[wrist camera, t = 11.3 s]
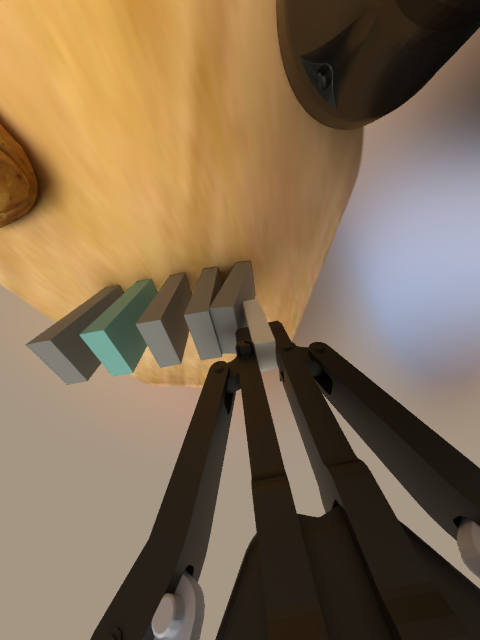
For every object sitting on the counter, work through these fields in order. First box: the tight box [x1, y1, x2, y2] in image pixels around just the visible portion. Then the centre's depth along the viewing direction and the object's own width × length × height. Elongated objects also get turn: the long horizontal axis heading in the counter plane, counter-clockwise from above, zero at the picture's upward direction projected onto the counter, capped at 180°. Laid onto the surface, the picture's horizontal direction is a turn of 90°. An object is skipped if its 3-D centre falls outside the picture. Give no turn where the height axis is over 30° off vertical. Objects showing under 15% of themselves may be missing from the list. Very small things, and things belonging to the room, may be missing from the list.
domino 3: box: [209, 261, 255, 353], centre depth 21 cm, size 2×5×12 cm, turn 9°
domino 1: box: [136, 273, 192, 368], centre depth 21 cm, size 2×5×12 cm, turn 9°
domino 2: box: [184, 267, 222, 360], centre depth 21 cm, size 2×5×12 cm, turn 9°
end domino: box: [26, 285, 124, 385], centre depth 21 cm, size 2×5×12 cm, turn 9°
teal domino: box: [79, 279, 158, 376], centre depth 21 cm, size 2×5×12 cm, turn 9°
